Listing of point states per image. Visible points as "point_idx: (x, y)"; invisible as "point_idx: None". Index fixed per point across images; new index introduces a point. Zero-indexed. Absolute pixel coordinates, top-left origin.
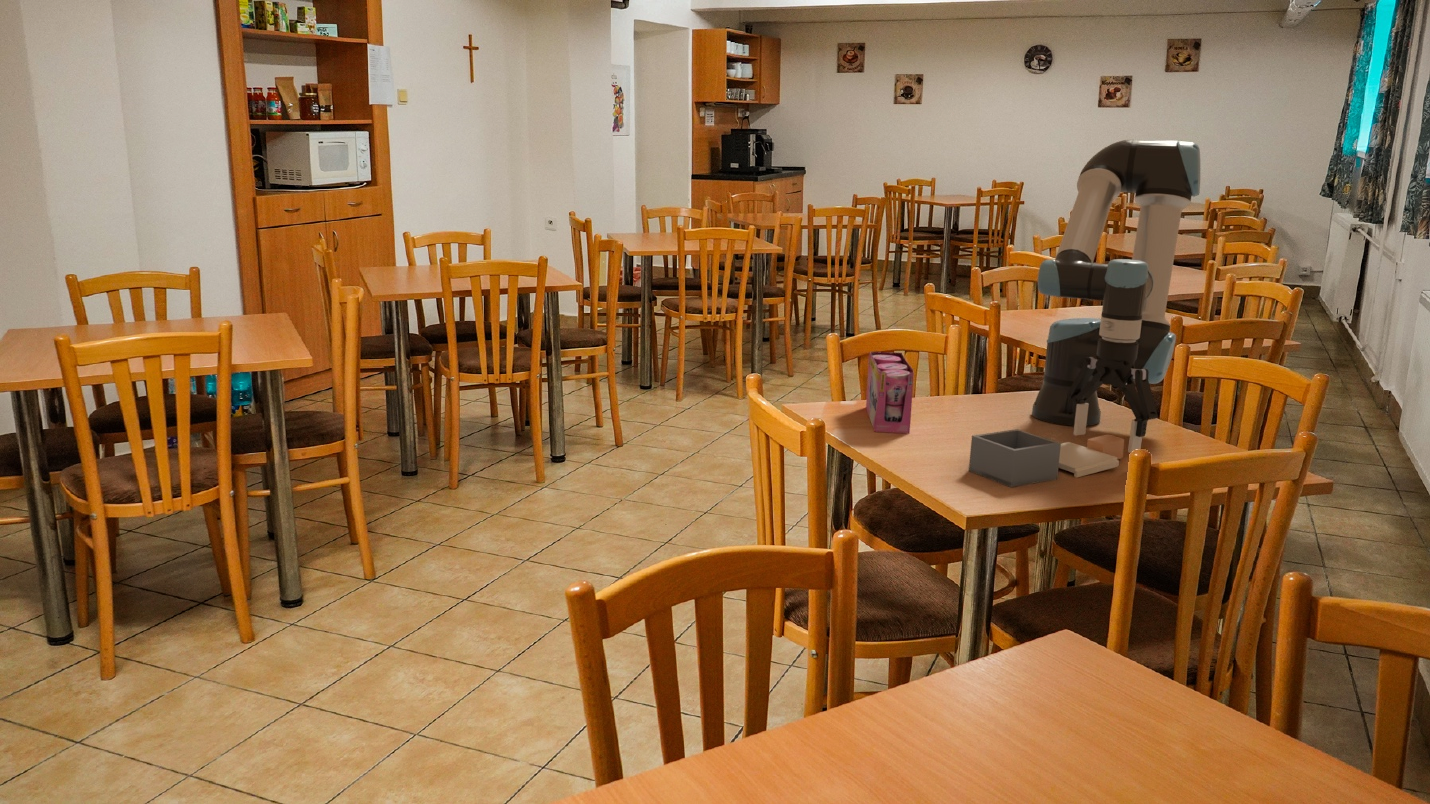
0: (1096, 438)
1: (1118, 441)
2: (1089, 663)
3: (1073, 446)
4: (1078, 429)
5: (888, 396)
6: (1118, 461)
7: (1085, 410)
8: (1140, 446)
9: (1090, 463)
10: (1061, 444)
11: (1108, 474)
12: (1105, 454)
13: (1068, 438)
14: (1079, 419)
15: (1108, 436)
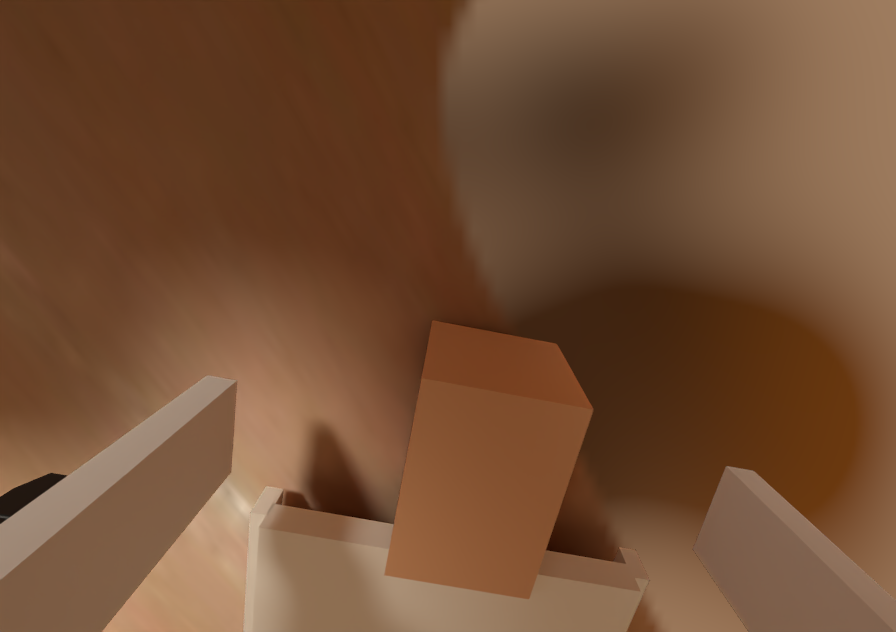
0: (419, 527)
1: (571, 466)
2: None
3: (337, 580)
4: (207, 486)
5: None
6: (645, 577)
7: (64, 572)
8: (777, 497)
9: None
10: (265, 591)
11: None
12: (561, 589)
13: (43, 162)
14: (145, 558)
15: (460, 433)
